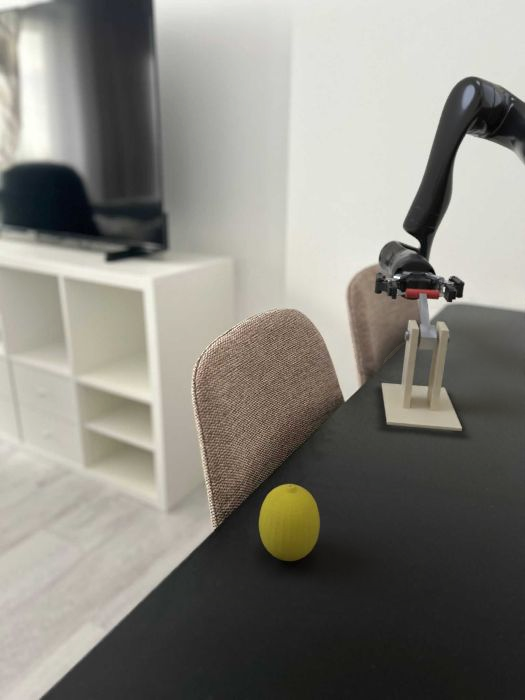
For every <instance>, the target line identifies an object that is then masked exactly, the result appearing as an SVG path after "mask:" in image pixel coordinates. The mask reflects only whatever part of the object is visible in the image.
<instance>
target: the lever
mask: <svg viewBox="0 0 525 700" xmlns="http://www.w3.org/2000/svg"><path fill="white" fill-rule="evenodd" d="M439 295H440V291H439V290H425V289H406V293H405V297H406V298H418V308H419V309H418V310H419V317H420V318H419V319H420V324H418V327H419V335H418V343H417V350H428V351H433V350H434V348H435V344H436V340H437V334H436V324H431V319H430V312H429V310H430V309H429V301H428V300H439V299H440V297H439Z"/></svg>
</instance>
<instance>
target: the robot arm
mask: <svg viewBox="0 0 525 700" xmlns="http://www.w3.org/2000/svg"><path fill="white" fill-rule="evenodd" d="M466 135H467V136H471V137H474V138H477V139H483V140H486V141H489V142H492V143H494V144H496V145H499V146H502V147H504V148H505V149H508V150H509V151H511V152H513V153H514V155H516V156H517V158H518V160H519V161H520V162H521V163H522V165H523V166H525V101H523V100H522V99H521V98H519V97H518V96H516V95H515V94H514V93H513V92H511V91H510V90H508V89H507V88H505V87H504V86H503V85H500V84H497V83H494V82H492V81H489V80H487V79H484V78H481V77H479V76H474V75H471V76H466V77H464V78H462V79H460V80H459V81H458V82H456V84H455V85H454V86H453V87H452V88H451V91H450V92H449V94H448V96H447V98H446V100H445V102H444V104H443V107H442V111H441V114H440V116H439V120H438V124H437V128H436V131H435V134H434V137H433V141H432V144H431V148H430V150H429V151H430V152H429V155H428V159H427V162H426V165H425V169H424V171H423V175H422V177H421V178H422V179H421V181H420V183H419V186H418V188H417V191H416V193H415V196H414V198H413V199H412V202H411V205H410V206H409V209H408V211H407V213H406V216H405V217H404V220H403V222H402V229H403V231H405V233H407V234H408V235H410V236H411V237H413V238H414V239H416V241H418V243H419V244H418V247H416V246H413V245H411V244H408V243H405V242H403V241H399V240H396V239H395V240H390V241H388V242H386V243H385V244H384V245H383V246H382V247H381V249H380V251H379V254H378V260H377V261H378V267H379V269H380V270H381V272H379V271H378V272H376V273H375V284H374V294H377V295H381V294H382V293H383V292H385V295H386V296H387V297H390V298H391V300H397V296H399V297H401V298H403V299H405V300H409V301H410V300H411V301H416V300H417V301H419V299H418V298H406V297H405V293H406V289H425V290H439V291H440V295H439V298H443V299H444V300H445V301H446V303H453V301H455V300H457V299H461V298H464V288H465V285H466V284H465V282H464V281H463V280H462V279H461V278H459V277H458V276H456V275H451V276H449V277H448V280H446V279H445V277H444V276H440V275H437V273H436V271H435V268H434V267H433V265H432V264H431V262H430V258H431V252H432V248H433V243H434V241H435V240H434V239H435V237H436V235H437V232H438V230H439V228H440V225H441V223H442V222H443V219H444V217H445V215H446V214H447V211H448V209H449V207H450V204H451V201H452V196H453V188H454V168H455V162H456V158H457V154H458V151H459V149H460V146H461V144H462V143H463V141H464V139H465V137H466ZM387 276H389V277H387Z"/></svg>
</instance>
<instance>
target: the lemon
mask: <svg viewBox="0 0 525 700" xmlns="http://www.w3.org/2000/svg"><path fill="white" fill-rule="evenodd" d="M320 528H321V519H320V512H319V508H318V504H317V502H316V500H315V498H314V496H313V495H312V493H310V492H309V491H308V490H307V489H305V487H302V486H300V485H297V484H295V483H294V484H293V483H284V484H282V485H281V484H280V485H278V486H276V487H274V488H273V489H272V490H271V491H270V492H269V493H267V495H266V497H265V499H264V500H263V502H262V505H261V507H260V510H259V518H258V530H259V536H260V539H261V542H262V544H263V546H264V548H265V549H266V550H267V552H269V554H271V555H272V557H275V558H276V559H278V560H281V561H284V562H285V561H286V562H295V561H298V560H301V559H303V558H305V557H306V556H307V555H308V554H310V553H311V552H312V550H313V549H314V547H315V546H316V544H317V541H318V538H319V534H320Z"/></svg>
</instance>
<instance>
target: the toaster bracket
mask: <svg viewBox="0 0 525 700" xmlns="http://www.w3.org/2000/svg"><path fill="white" fill-rule="evenodd" d="M435 326H436V334H437V340H436V344H435V348H434V350H432V355H431V356H432V357H431V362H430V363H431V364H430V371H429V377H428V386H427V385H415V384H414V385H413V383H414V376H415V375H414V374H415V368H416V359H417V351H418V335H419V324H418V322H417V320H416V319H409V320H408V323H407V330H405V332H404V341H405V350H404V358H403V366H402V367H403V368H402V375H401V383H390V382H389V383H388V382H387V383H386V382H381V391H382V398H383V405H384V413H385V419H386V425H387V426H388V425H389V426H399V427H400V426H401V427H411V428H423V429H424V428H425V429H434V430H445V431H459V432H463V426H462V425H461V422H460V420H459V418H458V415H457V413H456V410H455V408H454V406H453V403H452V401H451V398H450V397H449V393H448V392H447V389H446V388H445V387H442V385H443V378H444V377H443V376H444V371H445V364H446V356H447V349H448V344H449V343H450V330H449V328H448V326H447V325H446V323H445V322H444V321H436V324H435Z"/></svg>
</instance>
